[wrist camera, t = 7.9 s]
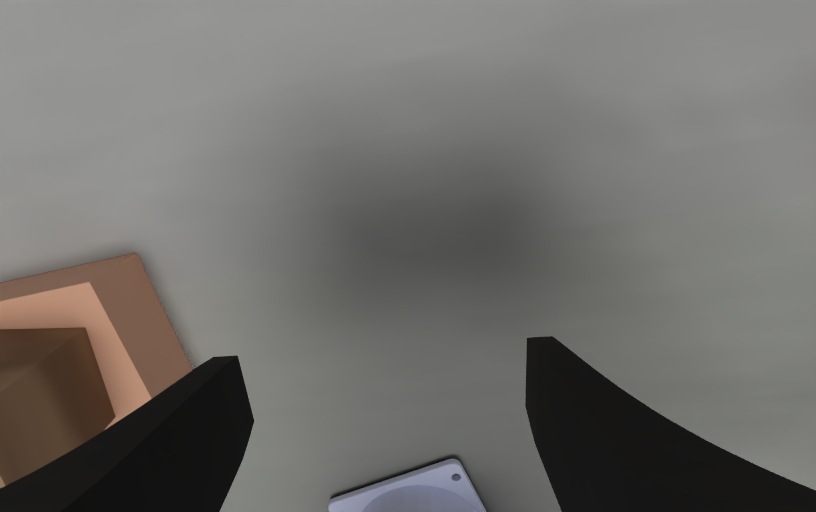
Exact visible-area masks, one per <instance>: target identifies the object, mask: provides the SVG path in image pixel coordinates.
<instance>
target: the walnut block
mask: <svg viewBox="0 0 816 512" xmlns="http://www.w3.org/2000/svg"><path fill="white" fill-rule="evenodd" d="M115 417H116V416H115V413H114V410H113V407H112V404H111V402H110V399H109V396H108V393H107V390H106V387H105V384H104V381H103V378H102V375H101V372H100V369H99V366H98V363H97V360H96V357H95V354H94V351H93V349H92V346H91V343H90V340H89V337H88V334H87V331H86V328H42V329H0V488H2V487H4V486H6V485H8V484H10V483H12V482H14V481H16V480H18V479H20V478H22V477H24V476H26V475H28V474H30V473H32V472H34V471H36V470H38V469H39V468H41V467H43V466H45V465H47V464H48V463H50V462H52V461H54V460H56V459H57V458H59V457H61V456H63V455H64V454H66V453H68V452H70V451H71V450H73V449H75V448H76V447H78V446H80V445H82V444H83V443H85V442H87V441H88V440H90V439H91V438H93V437H95V436H96V435H98V434H99V433H101V432H102V431H104V430H105V429H106V427H107V426H108V425H109V424H110V423H111V422H112V421H113V419H114V418H115Z"/></svg>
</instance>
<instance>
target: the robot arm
mask: <svg viewBox="0 0 816 512" xmlns="http://www.w3.org/2000/svg"><path fill="white" fill-rule="evenodd" d="M525 406H526V410H527V414H528V418H529V422H530V426H531V430H532V433H533V437H534V441H535V444H536V447H537V450H538V452H539V455H540V457H541V460H542V462H543V465H544V468H545V470H546V473H547V475H548V478H549V480H550V483H551V485H552V488H553V490H554V493H555V495H556V498H557V500H558V503H559V505H560V508H561V510H562V512H816V490H813V489H811V488H808V487H806V486H803V485H801V484H798V483H796V482H793V481H791V480H789V479H786V478H784V477H782V476H780V475H777V474H775V473H773V472H770V471H768V470H766V469H764V468H761V467H759V466H757V465H755V464H753V463H751V462H749V461H747V460H745V459H743V458H740V457H738V456H736V455H734V454H732V453H730V452H728V451H726V450H724V449H722V448H720V447H718V446H716V445H714V444H712V443H710V442H708V441H706V440H704V439H702V438H701V437H699V436H697V435H695V434H693V433H692V432H690V431H688V430H686V429H685V428H683V427H681V426H679V425H677V424H676V423H674V422H672V421H670V420H669V419H667V418H665V417H664V416H662V415H660V414H659V413H657V412H655V411H654V410H652V409H651V408H649V407H648V406H646V405H645V404H643V403H642V402H640V401H639V400H637V399H636V398H634V397H633V396H631V395H629V394H628V393H627V392H625V391H624V390H622V389H621V388H619V387H618V386H617V385H615V384H614V383H612V382H611V381H610V380H608V379H607V378H606V377H604V376H603V375H602V374H600V373H599V372H598V371H596V370H595V369H594V368H592V367H591V366H590V365H588V364H587V363H586V362H585V361H583V360H582V359H581V358H579V357H578V356H577V355H576V354H574V353H573V352H572V351H571V350H569V349H568V348H567V347H566V346H564V345H563V344H562V343H561V342H559V341H558V340H557V339H555V338H554V337H552V336H550V337H534V338H527V363H526V405H525ZM253 423H254V419H253V415H252V411H251V407H250V403H249V399H248V395H247V391H246V387H245V383H244V379H243V375H242V371H241V367H240V363H239V359H238V356H223V357H213V358H211V359H210V360H208V361H206V362H205V363H203V364H201V365H200V366H198V367H197V368H195V369H194V370H192V371H191V372H189V373H188V374H187V375H185V376H184V377H182V378H181V379H179V380H178V381H176V382H175V383H174V384H172V385H171V386H169V387H168V388H166V389H165V390H164V391H162V392H161V393H159V394H158V395H156V396H155V397H154V398H152V399H151V400H149V401H148V402H146V403H145V404H144V405H142V406H141V407H139V408H138V409H136V410H135V411H133V412H132V413H130V414H128V415H127V416H125V417H124V418H122V419H121V420H119V421H118V422H116V423H115V424H113V425H112V426H110V427H109V428H107V429H105V430H104V431H102V432H101V433H99V434H98V435H96V436H95V437H93V438H91V439H90V440H88V441H87V442H85V443H83V444H82V445H80V446H78V447H76V448H75V449H73V450H71V451H70V452H68V453H66V454H64V455H63V456H61V457H59V458H57V459H56V460H54V461H52V462H50V463H48V464H47V465H45V466H43V467H41V468H39V469H38V470H36V471H34V472H32V473H30V474H28V475H26V476H24V477H22V478H20V479H18V480H16V481H14V482H12V483H10V484H8V485H6V486H4V487H2V488H0V512H219V511H220V509H221V507H222V505H223V502H224V500H225V498H226V496H227V494H228V492H229V489H230V487H231V485H232V483H233V480H234V478H235V476H236V474H237V471H238V469H239V467H240V464H241V462H242V460H243V457H244V454H245V450H246V447H247V444H248V441H249V437H250V434H251V430H252V427H253ZM453 474H458V475H453ZM328 510H329V512H487V511H486V509H485V507H484V506H483V504H482V502H481V500H480V498H479V496H478V494H477V492H476V491H475V489H474V487H473V485H472V483H471V481H470V479H469V478H468V476H467V474H466V472H465V470H464V468H463V466H462V465H461V463H460V462H459V461H458V460H456V459H448V460H445V461H442V462H439V463H436V464H433V465H430V466H427V467H424V468H421V469H418V470H415V471H412V472H409V473H406V474H403V475H400V476H397V477H394V478H391V479H388V480H385V481H382V482H379V483H376V484H373V485H370V486H367V487H364V488H361V489H358V490H355V491H352V492H349V493H347V494H344V495H341V496H338V497H335V498H332V499H331V500H330V501H329V505H328Z"/></svg>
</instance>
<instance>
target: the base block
mask: <svg viewBox="0 0 816 512" xmlns="http://www.w3.org/2000/svg"><path fill="white" fill-rule="evenodd" d="M42 328H86V331H87V334H88V337H89V340H90V343H91V346H92V349H93V351H94V354H95V357H96V360H97V363H98V366H99V369H100V372H101V375H102V378H103V381H104V384H105V387H106V390H107V393H108V396H109V399H110V402H111V404H112V407H113V410H114V413H115V416H116V417H115V418H114V419H113V421H112V422H111V423H110V424H109V425H108V426H107V427H106V429H107V428H109V427H110V426H112V425H113V424H115V423H116V422H118V421H119V420H121V419H122V418H124V417H125V416H127V415H128V414H130V413H132V412H133V411H135V410H136V409H138V408H139V407H141V406H142V405H144V404H145V403H146V402H148V401H149V400H151V399H152V398H154V397H155V396H156V395H158V394H159V393H161V392H162V391H164V390H165V389H166V388H168V387H169V386H171V385H172V384H174V383H175V382H176V381H178V380H179V379H181V378H182V377H184V376H185V375H187V374H188V373H189V372H191V371H192V370H193V369H192V367H191V365H190V363H189V361H188V359H187V357H186V355H185V353H184V351H183V348H182V346H181V344H180V342H179V340H178V338H177V336H176V334H175V332H174V330H173V328H172V325H171V323H170V321H169V319H168V317H167V315H166V313H165V311H164V309H163V307H162V305H161V302H160V300H159V298H158V296H157V294H156V292H155V290H154V288H153V286H152V284H151V282H150V279H149V277H148V275H147V273H146V271H145V269H144V267H143V265H142V263H141V261H140V259H139V256H138V254H137V253H133V254H129V255H124V256H120V257H115V258H111V259H106V260H102V261H97V262H93V263H88V264H83V265H79V266H74V267H70V268H65V269H61V270H56V271H52V272H47V273H43V274H38V275H34V276H29V277H25V278H20V279H16V280H11V281H7V282H2V283H0V329H42Z"/></svg>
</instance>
